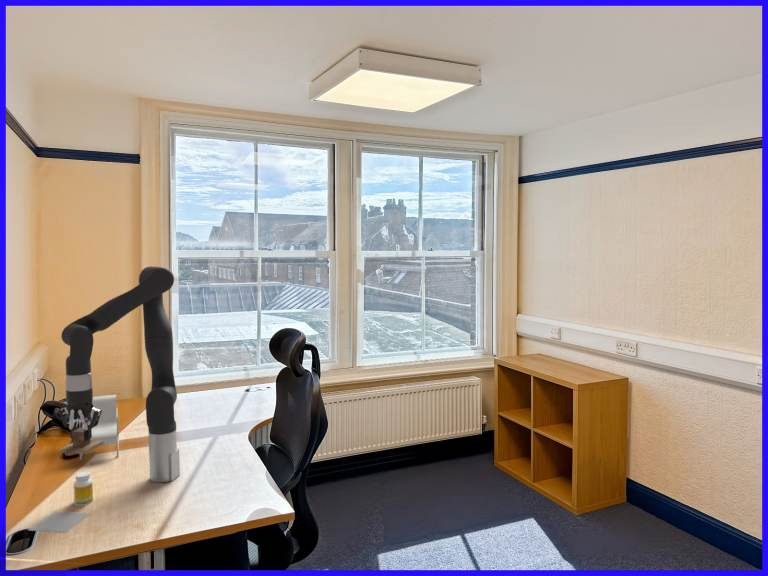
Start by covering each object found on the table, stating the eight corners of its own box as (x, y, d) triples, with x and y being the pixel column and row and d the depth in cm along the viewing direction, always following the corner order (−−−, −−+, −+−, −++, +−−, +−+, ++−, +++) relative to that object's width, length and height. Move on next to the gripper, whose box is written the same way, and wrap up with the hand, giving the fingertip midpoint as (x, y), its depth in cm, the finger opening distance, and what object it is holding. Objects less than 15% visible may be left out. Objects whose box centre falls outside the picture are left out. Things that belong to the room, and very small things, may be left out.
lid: (103, 444, 191) (102, 426, 190) (86, 454, 182) (85, 435, 181) (77, 442, 192) (76, 424, 191) (59, 452, 183) (58, 434, 182)
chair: (118, 438, 249) (117, 393, 247) (118, 458, 226) (116, 409, 224) (83, 442, 243) (81, 396, 242) (79, 464, 221) (77, 413, 219)
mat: (91, 514, 181) (91, 513, 181) (66, 533, 169) (65, 532, 169) (54, 512, 182) (54, 511, 182) (27, 531, 170) (27, 530, 170)
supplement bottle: (71, 503, 188) (70, 474, 187) (89, 497, 192) (88, 469, 191) (78, 508, 184) (76, 479, 184) (95, 502, 188) (94, 474, 188)
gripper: (107, 385, 188) (108, 437, 189) (66, 383, 190) (68, 435, 191) (93, 391, 181) (95, 445, 182) (50, 389, 182) (52, 443, 184)
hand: (81, 439), depth 186 cm, fingers closed on lid, 3 cm apart
